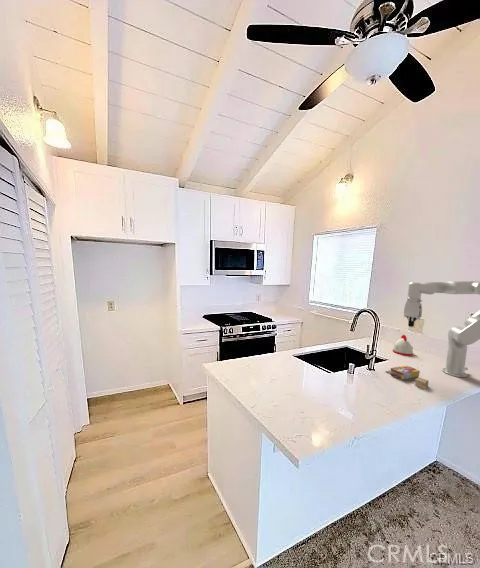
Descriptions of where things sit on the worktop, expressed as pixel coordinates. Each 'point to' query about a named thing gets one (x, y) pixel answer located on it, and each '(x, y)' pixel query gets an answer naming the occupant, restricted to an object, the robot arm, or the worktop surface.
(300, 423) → the worktop surface
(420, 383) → the oak block
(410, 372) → the candy box
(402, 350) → the kitchen timer
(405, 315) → the robot arm
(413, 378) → the mat
